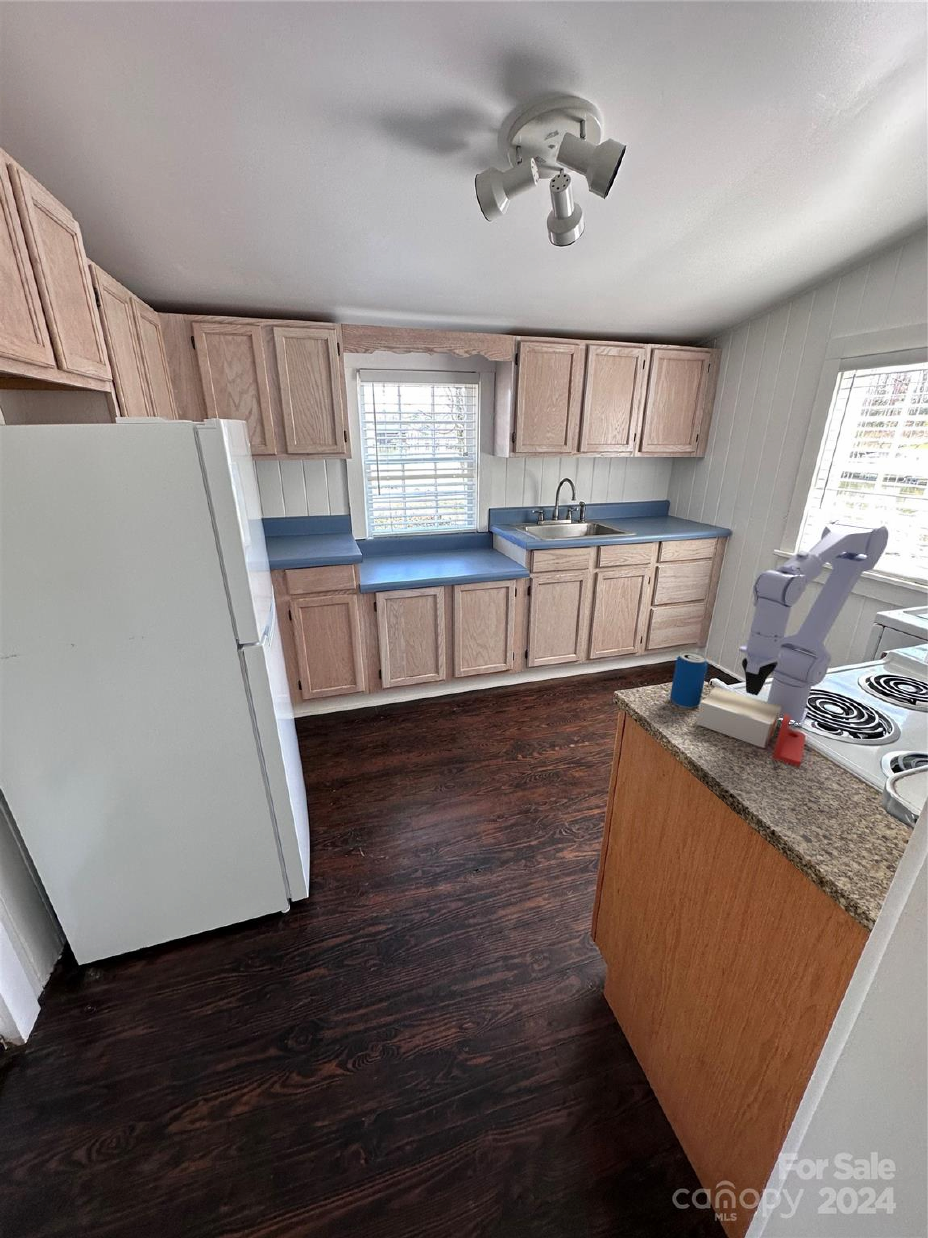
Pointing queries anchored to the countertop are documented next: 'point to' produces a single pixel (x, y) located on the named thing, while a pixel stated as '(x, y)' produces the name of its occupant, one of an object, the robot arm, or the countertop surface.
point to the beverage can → (688, 679)
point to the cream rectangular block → (746, 707)
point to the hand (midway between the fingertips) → (752, 693)
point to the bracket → (789, 744)
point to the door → (733, 723)
